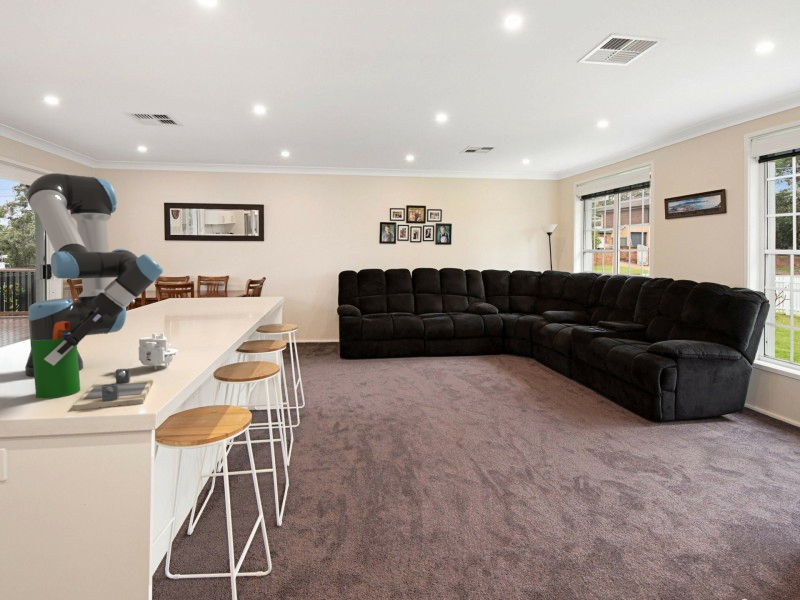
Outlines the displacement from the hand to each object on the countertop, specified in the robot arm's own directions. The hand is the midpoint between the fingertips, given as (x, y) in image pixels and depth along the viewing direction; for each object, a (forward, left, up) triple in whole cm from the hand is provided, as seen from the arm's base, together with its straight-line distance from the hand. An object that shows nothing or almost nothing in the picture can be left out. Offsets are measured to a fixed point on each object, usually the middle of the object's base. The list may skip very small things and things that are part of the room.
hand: (51, 357), depth 125 cm
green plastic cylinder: (-1, +1, -10) cm, 10 cm away
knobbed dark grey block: (+15, +16, -9) cm, 24 cm away
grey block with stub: (-1, +16, -9) cm, 19 cm away
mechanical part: (-24, +23, -10) cm, 35 cm away
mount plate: (+7, +16, -10) cm, 20 cm away
